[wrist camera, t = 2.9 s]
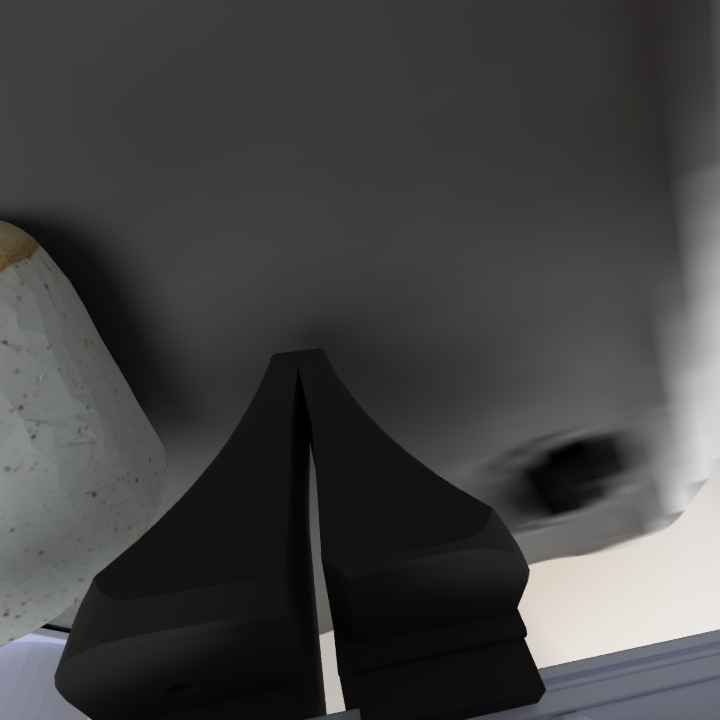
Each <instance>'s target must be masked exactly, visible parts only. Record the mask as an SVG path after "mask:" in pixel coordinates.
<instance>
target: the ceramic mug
mask: <svg viewBox="0 0 720 720" xmlns="http://www.w3.org/2000/svg"><path fill="white" fill-rule="evenodd" d="M167 468H168V465H167V459H166V453H165V448H164V447H163V445H162V443H161V441H160V439H159V437H158V436H157V434H156V432H155V430H154V429H153V427H152V425H151V424H150V422H149V420H148V419H147V417H146V415H145V414H144V412H143V410H142V409H141V407H140V406H139V404H138V402H137V400H136V398H135V396H134V395H133V393H132V391H131V389H130V387H129V385H128V383H127V381H126V380H125V378H124V376H123V375H122V373H121V371H120V369H119V368H118V366H117V364H116V363H115V361H114V359H113V358H112V356H111V354H110V353H109V351H108V349H107V348H106V346H105V344H104V342H103V341H102V339H101V337H100V336H99V334H98V332H97V330H96V328H95V326H94V324H93V322H92V320H91V318H90V316H89V314H88V312H87V310H86V308H85V306H84V305H83V303H82V301H81V300H80V298H79V296H78V294H77V293H76V291H75V289H74V288H73V286H72V284H71V283H70V281H69V279H68V278H67V277H66V276H65V274H64V273H63V272H62V271H61V270H60V268H59V267H58V266H57V265H56V263H55V262H54V261H53V260H52V258H51V257H50V256H49V255H48V253H47V252H46V251H45V250H44V249H43V248H42V247H41V246H40V245H39V243H38V242H37V241H36V240H35V239H34V238H33V237H32V236H30V235H29V234H27V233H26V232H25V231H23V230H22V229H20V228H18V227H16V226H14V225H12V224H10V223H7V222H5V221H1V220H0V647H2V646H4V645H6V644H8V643H10V642H12V641H15V640H17V639H19V638H21V637H24V636H25V635H27V634H29V633H31V632H33V631H34V630H36V629H38V628H40V627H42V626H43V625H45V624H46V623H48V622H50V621H51V620H53V619H54V618H56V617H57V616H59V615H60V614H62V613H63V612H64V611H66V610H67V609H68V608H70V607H71V606H73V605H74V604H75V603H77V602H78V601H79V600H80V599H81V598H82V597H84V596H85V595H86V593H87V591H88V589H89V587H90V585H91V582H92V580H93V578H94V576H95V575H97V574H98V573H99V572H100V571H102V570H103V569H104V568H105V567H106V566H108V565H109V564H110V563H111V562H112V561H114V560H115V559H116V558H117V557H118V556H119V555H121V554H122V553H123V552H124V551H125V550H126V549H128V548H129V547H130V546H131V545H132V544H134V543H135V542H136V541H137V540H138V539H139V538H141V536H142V535H143V534H144V532H145V531H146V529H147V527H148V526H149V524H150V522H151V520H152V518H153V516H154V514H155V512H156V511H157V509H158V507H159V505H160V501H161V498H162V495H163V493H164V490H165V484H166V478H167Z"/></svg>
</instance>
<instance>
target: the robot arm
mask: <svg viewBox="0 0 720 720" xmlns="http://www.w3.org/2000/svg"><path fill="white" fill-rule="evenodd" d="M310 444H311V449H312V454H313V459H314V464H315V468H316V481H317V495H318V509H319V524H320V540H321V558H322V565H323V570H324V576H325V582H326V588H327V593H328V599H329V605H330V611H331V616H332V622H333V628H334V638H335V647H336V658H337V666H338V667H337V668H338V675H339V676H340V682H341V687H342V692H343V698H344V703H345V708H346V711H343V712H338V713H333V714H329V715H327V713H326V702H325V693H324V683H323V672H322V662H321V651H320V641H319V629H318V619H317V608H316V597H315V586H314V575H313V563H312V552H311V540H310V524H309V480H310ZM529 571H530V570H529V567H528V565H527V563H526V560H525V558H524V556H523V554H522V551H521V550H520V548H519V546H518V544H517V543H516V541H515V539H514V538H513V536H512V535H511V533H510V532H509V530H508V529H507V527H506V526H505V524H504V523H503V521H502V520H501V518H500V517H499V516H498V514H497V513H496V511H495V510H494V509H493V508H492V507H490V506H488V505H486V504H485V503H483V502H481V501H479V500H478V499H476V498H474V497H472V496H471V495H469V494H467V493H465V492H464V491H462V490H460V489H458V488H457V487H455V486H453V485H452V484H450V483H449V482H447V481H446V480H444V479H443V478H442V477H440V476H439V475H437V474H436V473H434V472H433V471H431V470H430V469H429V468H427V467H426V466H425V465H424V464H422V463H421V462H420V461H418V460H417V459H416V458H414V457H413V456H412V455H410V454H409V453H408V452H407V451H405V450H404V449H403V448H402V447H401V446H400V445H398V444H397V443H396V442H395V441H394V440H393V439H392V438H390V437H389V436H388V435H387V434H386V433H385V432H384V431H383V430H382V429H381V428H380V427H379V426H378V425H377V424H376V423H375V422H374V421H373V420H372V419H371V418H370V417H369V415H368V414H367V413H366V412H365V411H364V410H363V409H362V407H361V406H360V405H359V404H358V403H357V401H356V400H355V399H354V398H353V397H352V395H351V394H350V392H349V391H348V390H347V388H346V387H345V386H344V384H343V383H342V382H341V380H340V379H339V377H338V376H337V374H336V372H335V371H334V369H333V367H332V366H331V364H330V362H329V360H328V358H327V355H326V353H325V351H324V350H323V349H321V348H318V349H310V350H302V351H294V352H285V353H277V354H274V355H273V356H272V357H271V359H270V363H269V365H268V368H267V371H266V373H265V375H264V378H263V380H262V382H261V384H260V386H259V388H258V390H257V392H256V394H255V396H254V398H253V400H252V402H251V404H250V406H249V408H248V409H247V411H246V413H245V414H244V416H243V418H242V419H241V421H240V423H239V424H238V426H237V427H236V429H235V431H234V432H233V434H232V435H231V437H230V438H229V440H228V441H227V443H226V444H225V445H224V447H223V448H222V450H221V451H220V452H219V454H218V455H217V456H216V458H215V459H214V460H213V461H212V463H211V464H210V465H209V466H208V468H207V469H206V470H205V471H204V472H203V474H202V475H201V476H200V477H199V478H198V480H197V481H196V482H195V483H194V484H193V485H192V487H191V488H190V489H189V490H188V491H187V492H186V493H185V494H184V495H183V496H182V498H181V499H180V500H179V501H178V502H177V503H176V504H175V505H174V506H173V507H172V508H171V509H170V510H169V511H168V512H167V513H166V514H165V515H164V516H163V517H162V518H161V519H160V520H159V521H158V522H157V523H156V524H155V525H154V526H153V527H151V528H150V529H149V530H148V531H147V532H146V533H145V534H144V535H143V536H142V537H141V538H139V539H138V540H137V541H136V542H135V543H134V544H132V545H131V546H130V547H129V548H128V549H126V550H125V551H124V552H123V553H122V554H121V555H119V556H118V557H117V558H116V559H115V560H114V561H112V562H111V563H110V564H109V565H108V566H106V567H105V568H104V569H103V570H102V571H100V572H99V573H98V574H97V575H95V576H94V578H93V580H92V582H91V585H90V587H89V589H88V591H87V593H86V595H85V597H84V599H83V601H82V603H81V605H80V608H79V610H78V612H77V615H76V617H75V620H74V622H73V625H72V628H71V631H70V633H65V632H60V631H55V630H50V629H45V628H38V629H36V630H34V631H33V632H31V633H29V634H27V635H25V636H24V637H21V638H19V639H17V640H15V641H12V642H10V643H8V644H6V645H4V646H2V647H0V720H86V719H87V716H88V717H89V718H90V719H92V720H720V630H715V631H711V632H706V633H702V634H697V635H692V636H688V637H683V638H679V639H674V640H670V641H665V642H661V643H655V644H651V645H647V646H642V647H637V648H633V649H628V650H623V651H619V652H614V653H610V654H605V655H600V656H596V657H591V658H586V659H582V660H578V661H573V662H568V663H563V664H559V665H555V666H550V667H545V668H540V669H537V667H536V665H535V662H534V660H533V658H532V655H531V653H530V651H529V648H528V646H527V644H526V641H525V639H524V638H525V637H526V636H527V630H526V627H525V625H524V622H523V620H522V618H521V616H520V613H519V611H518V609H517V607H518V605H519V602H520V600H521V597H522V595H523V592H524V590H525V587H526V585H527V582H528V578H529Z"/></svg>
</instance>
